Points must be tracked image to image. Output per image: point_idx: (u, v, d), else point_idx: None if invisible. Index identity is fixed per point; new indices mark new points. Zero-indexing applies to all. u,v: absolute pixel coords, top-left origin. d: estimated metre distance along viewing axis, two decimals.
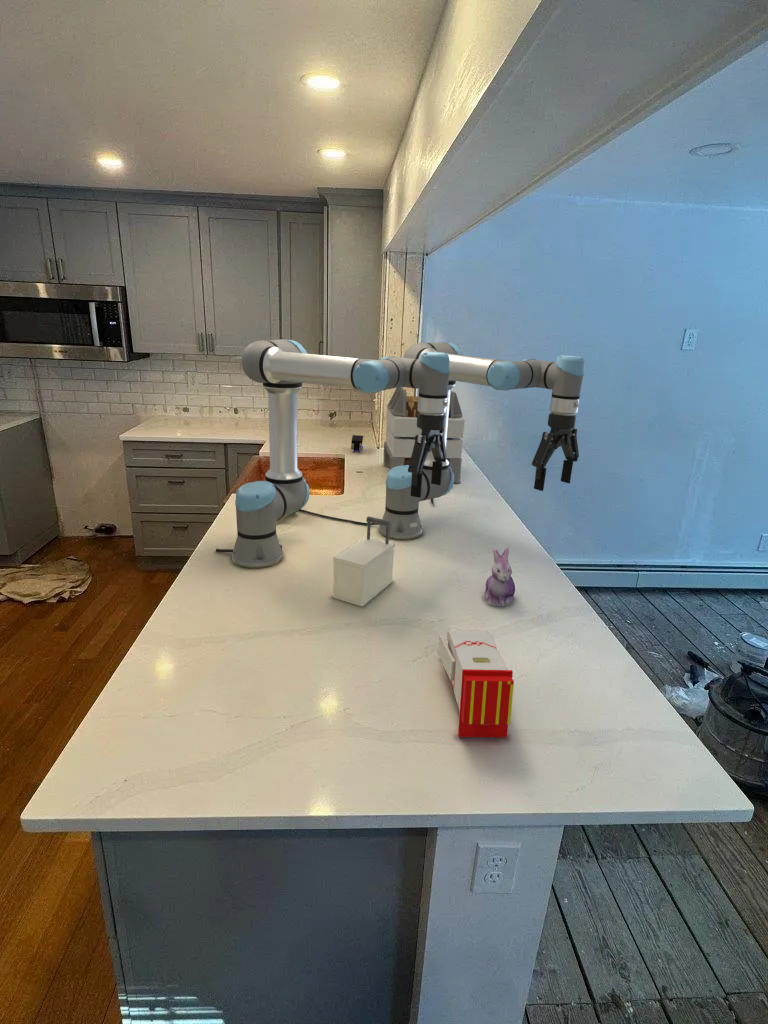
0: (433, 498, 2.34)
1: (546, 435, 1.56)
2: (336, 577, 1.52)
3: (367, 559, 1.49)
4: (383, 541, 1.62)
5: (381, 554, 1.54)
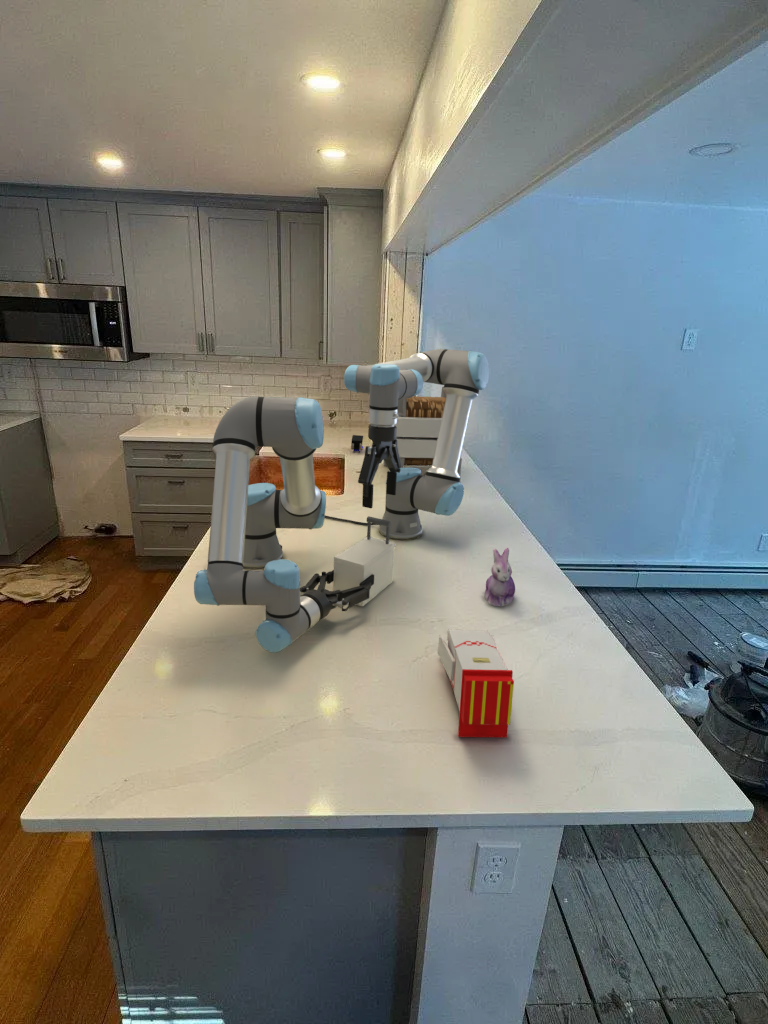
0: None
1: (369, 450, 1.46)
2: (336, 577, 1.52)
3: (367, 559, 1.49)
4: (383, 541, 1.62)
5: (381, 554, 1.54)
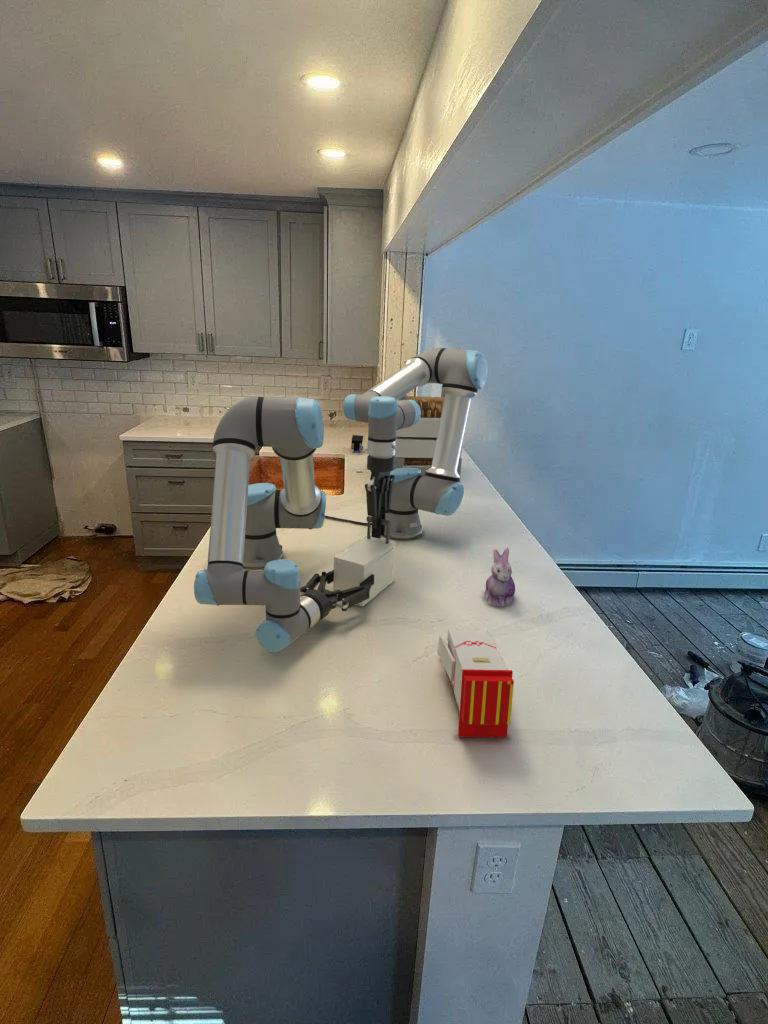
0: None
1: (369, 488, 1.50)
2: (336, 577, 1.52)
3: (367, 559, 1.49)
4: (383, 540, 1.62)
5: (381, 554, 1.54)
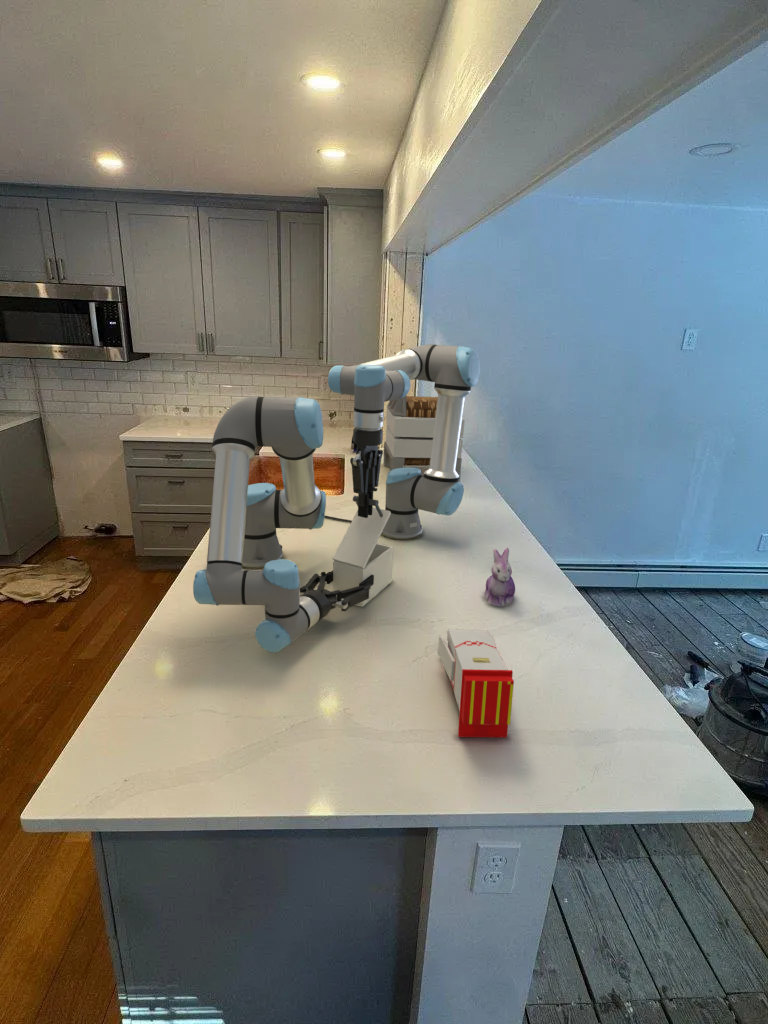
0: None
1: (355, 463, 1.41)
2: (336, 578, 1.51)
3: (364, 555, 1.48)
4: (377, 512, 1.55)
5: (378, 537, 1.50)
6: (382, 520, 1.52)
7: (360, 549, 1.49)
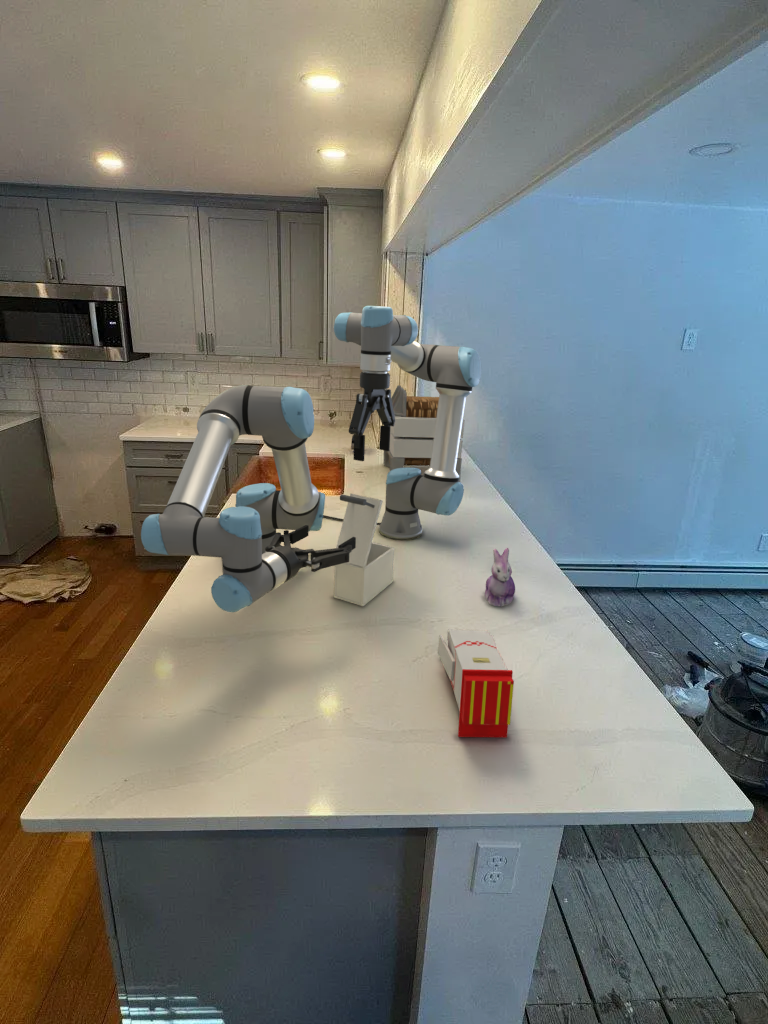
0: None
1: (360, 397, 1.37)
2: (337, 577, 1.52)
3: (363, 553, 1.47)
4: (368, 501, 1.49)
5: (373, 531, 1.47)
6: (374, 511, 1.47)
7: (358, 547, 1.48)
